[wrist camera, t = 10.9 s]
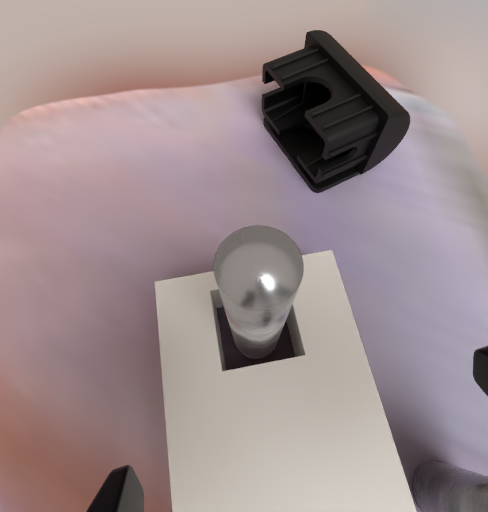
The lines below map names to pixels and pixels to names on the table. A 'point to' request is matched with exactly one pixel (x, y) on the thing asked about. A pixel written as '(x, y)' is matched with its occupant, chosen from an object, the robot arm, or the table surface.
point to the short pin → (449, 489)
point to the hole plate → (275, 408)
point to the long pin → (257, 285)
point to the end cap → (330, 113)
